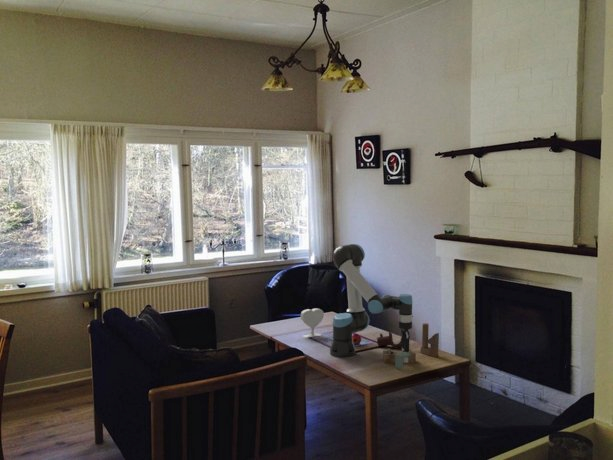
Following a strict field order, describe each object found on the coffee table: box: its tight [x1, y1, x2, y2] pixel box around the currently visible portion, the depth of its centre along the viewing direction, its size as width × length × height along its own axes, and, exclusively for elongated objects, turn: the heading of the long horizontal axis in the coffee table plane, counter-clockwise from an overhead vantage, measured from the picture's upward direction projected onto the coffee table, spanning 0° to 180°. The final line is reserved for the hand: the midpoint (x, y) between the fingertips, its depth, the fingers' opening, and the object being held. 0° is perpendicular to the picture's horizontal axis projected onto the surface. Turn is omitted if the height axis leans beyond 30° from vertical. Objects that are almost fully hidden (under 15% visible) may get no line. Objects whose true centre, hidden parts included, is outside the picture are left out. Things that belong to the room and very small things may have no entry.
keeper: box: [394, 351, 411, 370], centre depth 301 cm, size 4×8×8 cm, turn 125°
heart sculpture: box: [300, 307, 325, 339], centre depth 361 cm, size 16×5×18 cm, turn 116°
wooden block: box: [420, 322, 440, 358], centre depth 323 cm, size 4×11×18 cm, turn 39°
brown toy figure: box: [376, 331, 402, 349], centre depth 337 cm, size 6×17×10 cm, turn 74°
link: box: [382, 350, 417, 364], centre depth 311 cm, size 18×7×5 cm, turn 90°
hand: (405, 360), depth 311 cm, fingers closed on link, 4 cm apart
